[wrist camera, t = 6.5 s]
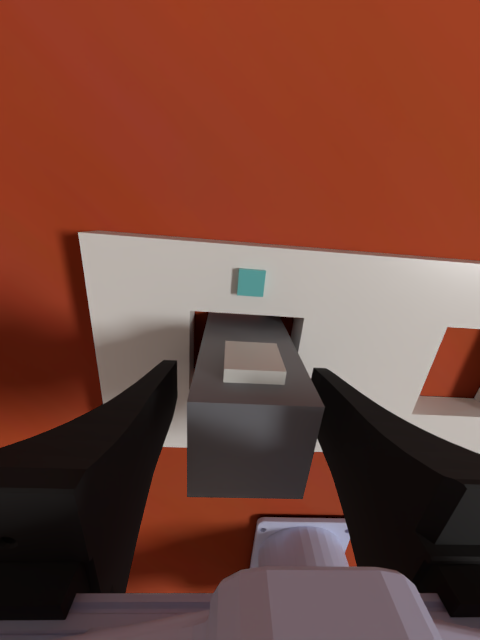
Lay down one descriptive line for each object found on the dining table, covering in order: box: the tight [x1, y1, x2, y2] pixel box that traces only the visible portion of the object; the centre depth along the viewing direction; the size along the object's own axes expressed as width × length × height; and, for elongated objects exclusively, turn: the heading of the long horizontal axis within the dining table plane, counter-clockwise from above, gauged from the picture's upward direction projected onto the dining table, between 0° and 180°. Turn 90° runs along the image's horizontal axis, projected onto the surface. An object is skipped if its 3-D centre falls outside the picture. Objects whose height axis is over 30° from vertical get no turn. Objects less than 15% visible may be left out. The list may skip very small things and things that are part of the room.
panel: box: [78, 231, 480, 454], centre depth 14 cm, size 12×28×2 cm, turn 86°
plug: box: [187, 312, 325, 499], centre depth 11 cm, size 4×4×8 cm
